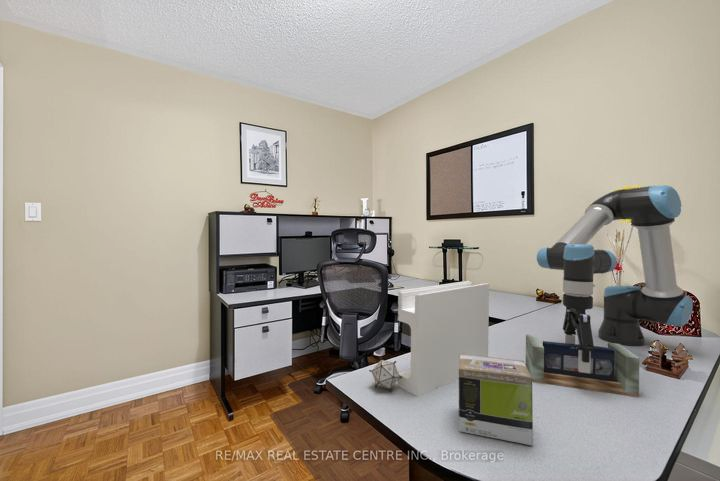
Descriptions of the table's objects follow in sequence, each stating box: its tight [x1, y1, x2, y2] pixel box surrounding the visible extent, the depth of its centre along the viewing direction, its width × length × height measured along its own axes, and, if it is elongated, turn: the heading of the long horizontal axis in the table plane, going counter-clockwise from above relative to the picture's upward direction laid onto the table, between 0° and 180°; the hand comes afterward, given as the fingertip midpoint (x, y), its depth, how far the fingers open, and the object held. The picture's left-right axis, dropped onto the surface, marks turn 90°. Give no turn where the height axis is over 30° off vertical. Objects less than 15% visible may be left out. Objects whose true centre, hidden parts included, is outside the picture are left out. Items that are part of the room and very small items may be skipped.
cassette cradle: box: [525, 333, 641, 398], centre depth 95 cm, size 26×12×11 cm, turn 70°
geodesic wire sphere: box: [368, 357, 402, 393], centre depth 89 cm, size 9×8×10 cm
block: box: [397, 280, 490, 398], centre depth 98 cm, size 35×8×28 cm, turn 127°
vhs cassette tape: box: [542, 340, 615, 382], centre depth 95 cm, size 18×3×10 cm, turn 69°
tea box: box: [458, 354, 534, 446], centre depth 71 cm, size 15×10×15 cm, turn 71°
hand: (576, 363), depth 95 cm, fingers open, 13 cm apart
